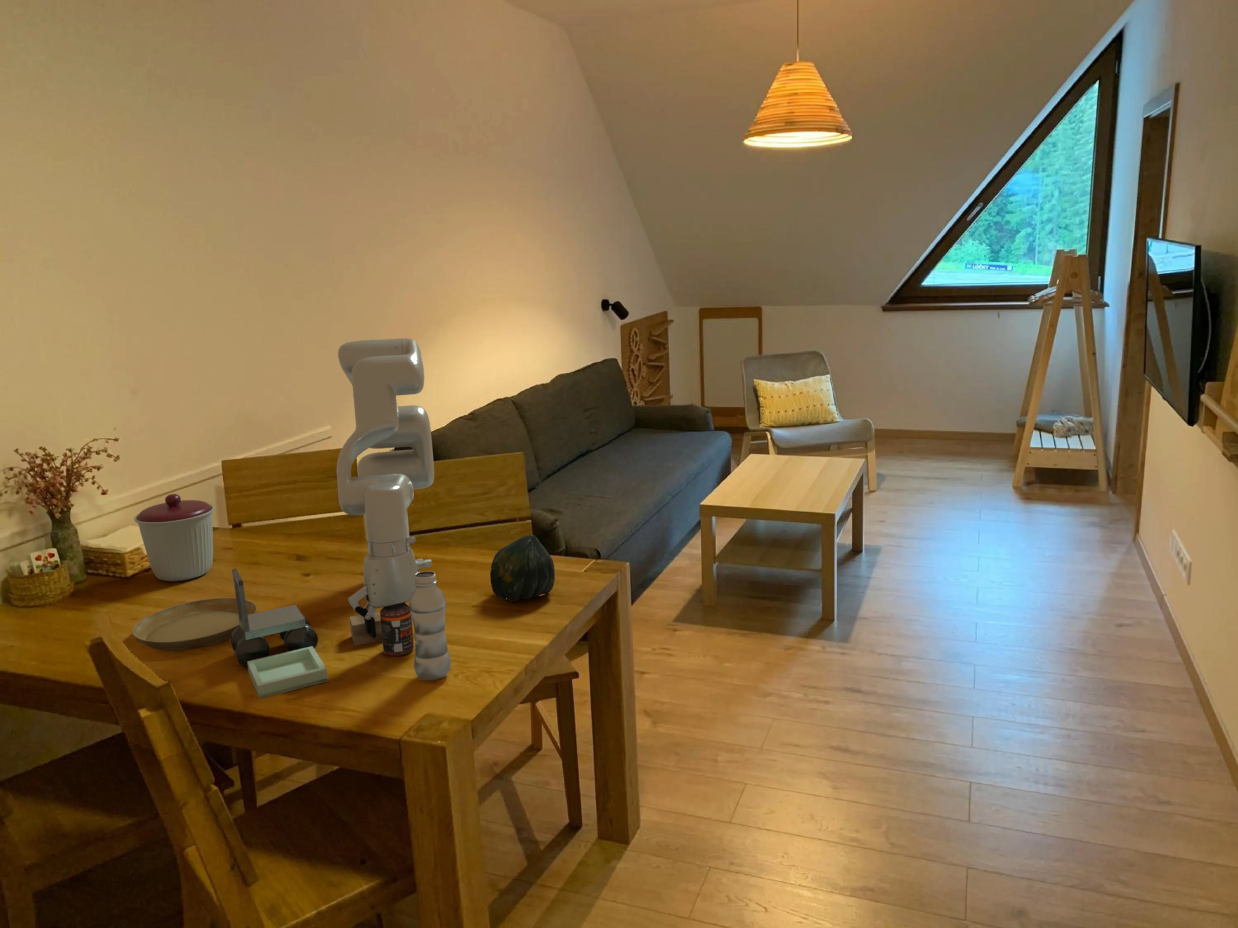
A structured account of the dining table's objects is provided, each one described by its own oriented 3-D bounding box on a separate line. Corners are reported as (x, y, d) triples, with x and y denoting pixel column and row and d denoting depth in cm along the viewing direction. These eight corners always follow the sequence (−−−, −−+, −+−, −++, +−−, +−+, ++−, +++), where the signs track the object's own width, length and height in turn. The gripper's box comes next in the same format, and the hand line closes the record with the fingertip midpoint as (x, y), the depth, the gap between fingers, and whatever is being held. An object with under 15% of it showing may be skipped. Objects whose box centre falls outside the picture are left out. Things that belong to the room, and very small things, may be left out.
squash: (468, 574, 203) (497, 533, 195) (514, 558, 215) (543, 519, 207) (503, 624, 199) (535, 584, 191) (548, 604, 211) (580, 566, 202)
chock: (386, 630, 188) (384, 610, 187) (389, 639, 183) (387, 619, 182) (351, 637, 185) (349, 616, 184) (354, 646, 181) (352, 625, 180)
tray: (314, 657, 176) (312, 645, 175) (328, 681, 166) (326, 668, 165) (248, 673, 170) (247, 661, 169) (259, 698, 160) (257, 685, 159)
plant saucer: (116, 636, 190) (113, 622, 190) (227, 602, 208) (225, 589, 207) (163, 667, 174) (161, 651, 174) (279, 627, 192) (277, 613, 191)
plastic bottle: (417, 670, 169) (408, 569, 164) (453, 667, 169) (445, 567, 165) (412, 686, 162) (402, 581, 158) (450, 683, 163) (441, 579, 158)
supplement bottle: (406, 658, 174) (401, 603, 171) (378, 656, 175) (372, 602, 173) (419, 645, 180) (414, 592, 177) (391, 643, 181) (386, 590, 178)
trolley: (309, 636, 186) (300, 556, 182) (319, 652, 178) (309, 568, 174) (232, 654, 178) (220, 571, 174) (238, 671, 171) (226, 584, 167)
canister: (238, 569, 230) (227, 489, 225) (171, 592, 215) (158, 507, 210) (196, 559, 239) (184, 482, 234) (129, 580, 224) (115, 499, 220)
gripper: (426, 534, 180) (433, 614, 183) (338, 550, 171) (347, 634, 175) (438, 543, 174) (445, 626, 177) (348, 560, 165) (357, 647, 169)
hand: (397, 630), depth 176 cm, fingers open, 9 cm apart
